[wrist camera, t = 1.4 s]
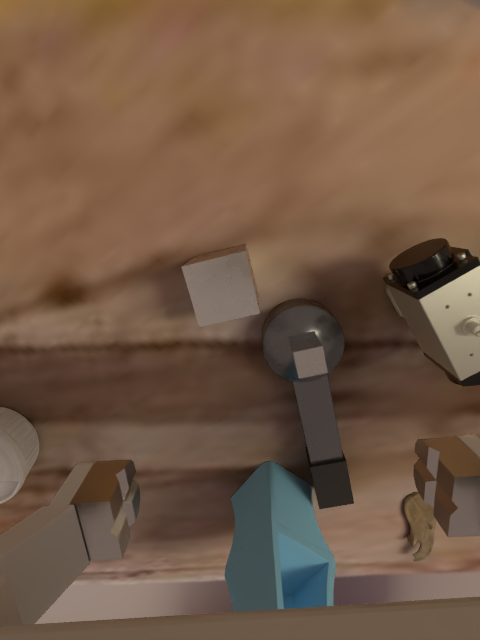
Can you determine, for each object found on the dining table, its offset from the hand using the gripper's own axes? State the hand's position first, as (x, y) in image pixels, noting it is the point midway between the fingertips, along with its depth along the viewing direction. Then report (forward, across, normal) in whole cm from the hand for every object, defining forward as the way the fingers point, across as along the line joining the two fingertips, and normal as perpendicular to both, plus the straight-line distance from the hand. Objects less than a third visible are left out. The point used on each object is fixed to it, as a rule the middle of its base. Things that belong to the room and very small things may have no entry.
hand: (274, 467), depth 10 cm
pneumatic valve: (+26, -17, +1) cm, 31 cm away
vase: (+27, -1, +27) cm, 38 cm away
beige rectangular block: (+27, +2, -2) cm, 27 cm away
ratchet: (+27, -6, +13) cm, 31 cm away
